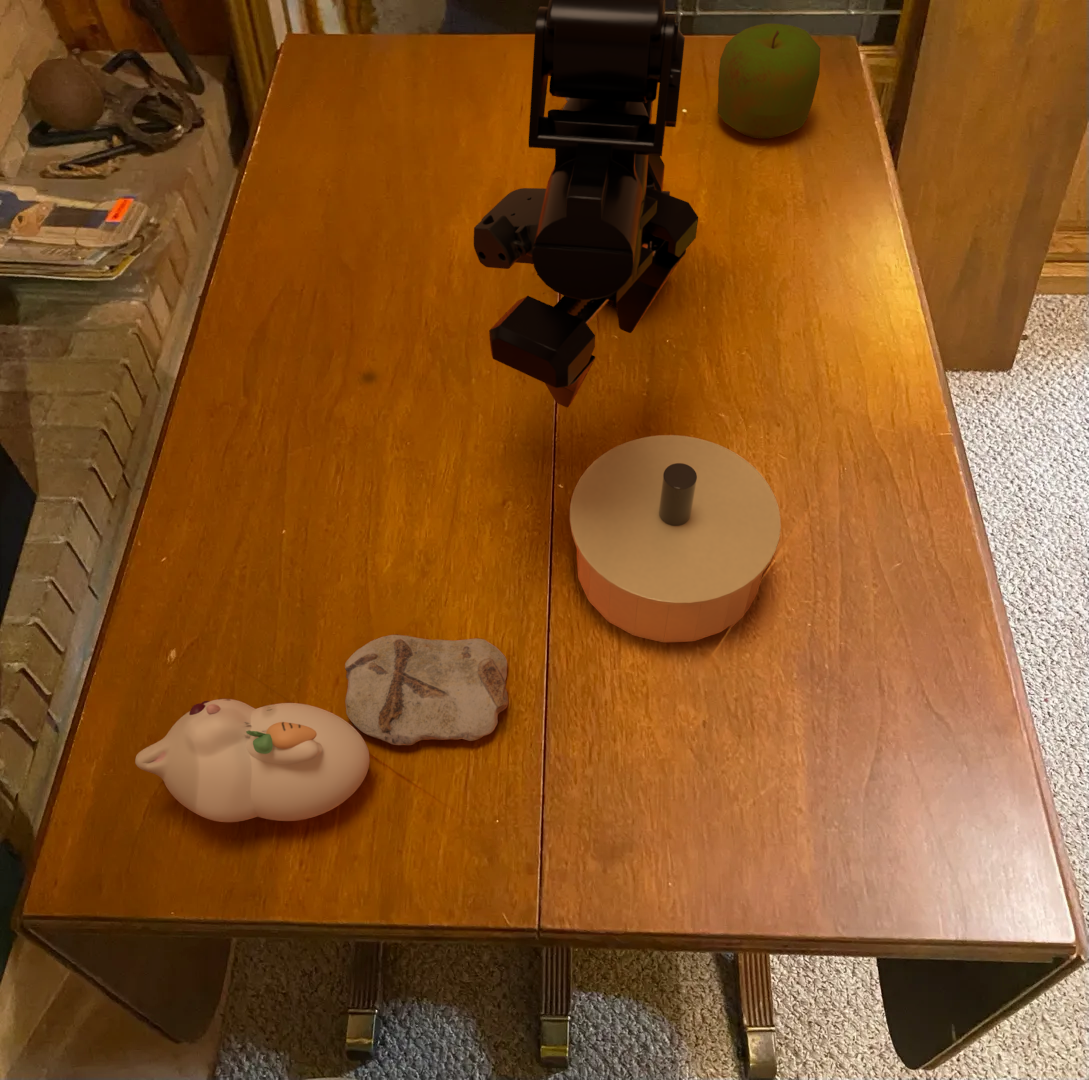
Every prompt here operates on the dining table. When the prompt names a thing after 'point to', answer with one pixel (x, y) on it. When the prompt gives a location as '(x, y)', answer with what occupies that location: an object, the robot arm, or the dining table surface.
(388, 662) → the stone
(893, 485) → the dining table surface
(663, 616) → the pot
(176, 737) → the bunny figurine
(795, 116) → the apple
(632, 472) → the pot lid
